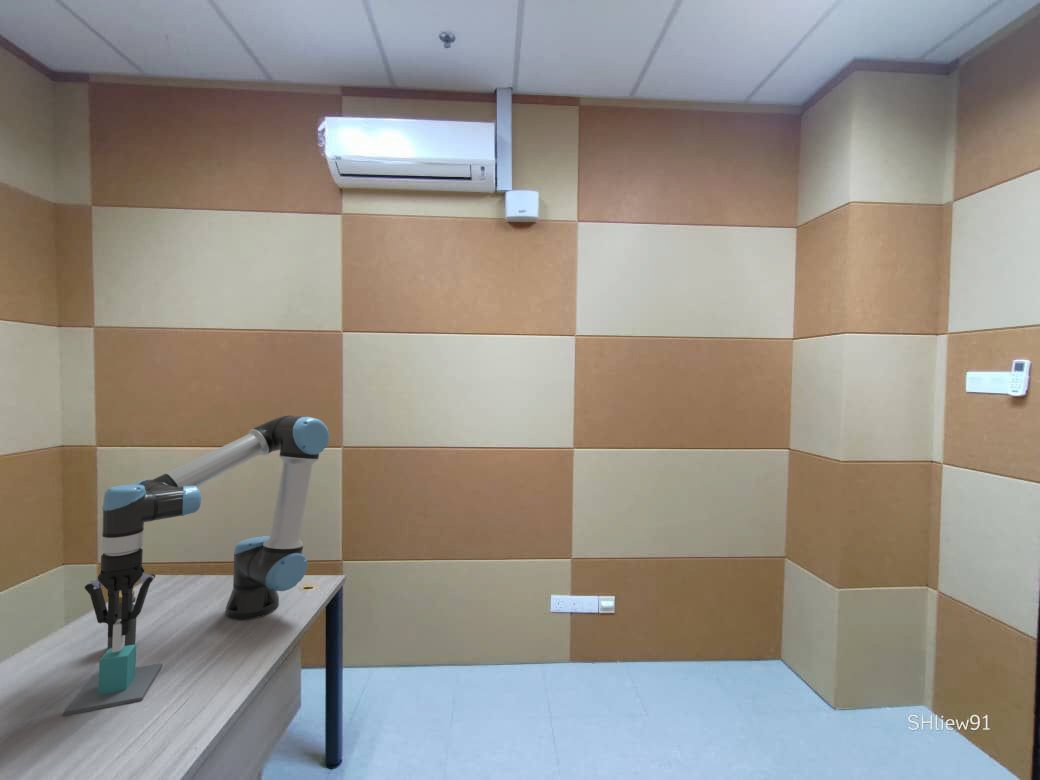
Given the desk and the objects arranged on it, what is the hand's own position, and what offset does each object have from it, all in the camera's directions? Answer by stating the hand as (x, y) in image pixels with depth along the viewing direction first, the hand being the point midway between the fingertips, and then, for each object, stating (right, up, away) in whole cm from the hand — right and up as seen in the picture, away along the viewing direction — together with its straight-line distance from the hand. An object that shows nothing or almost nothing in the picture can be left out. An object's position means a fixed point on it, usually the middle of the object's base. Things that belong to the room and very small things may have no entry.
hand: (118, 648), depth 108 cm
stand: (0, -10, 0) cm, 10 cm away
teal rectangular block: (0, -9, 0) cm, 9 cm away
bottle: (-14, -10, +17) cm, 24 cm away
